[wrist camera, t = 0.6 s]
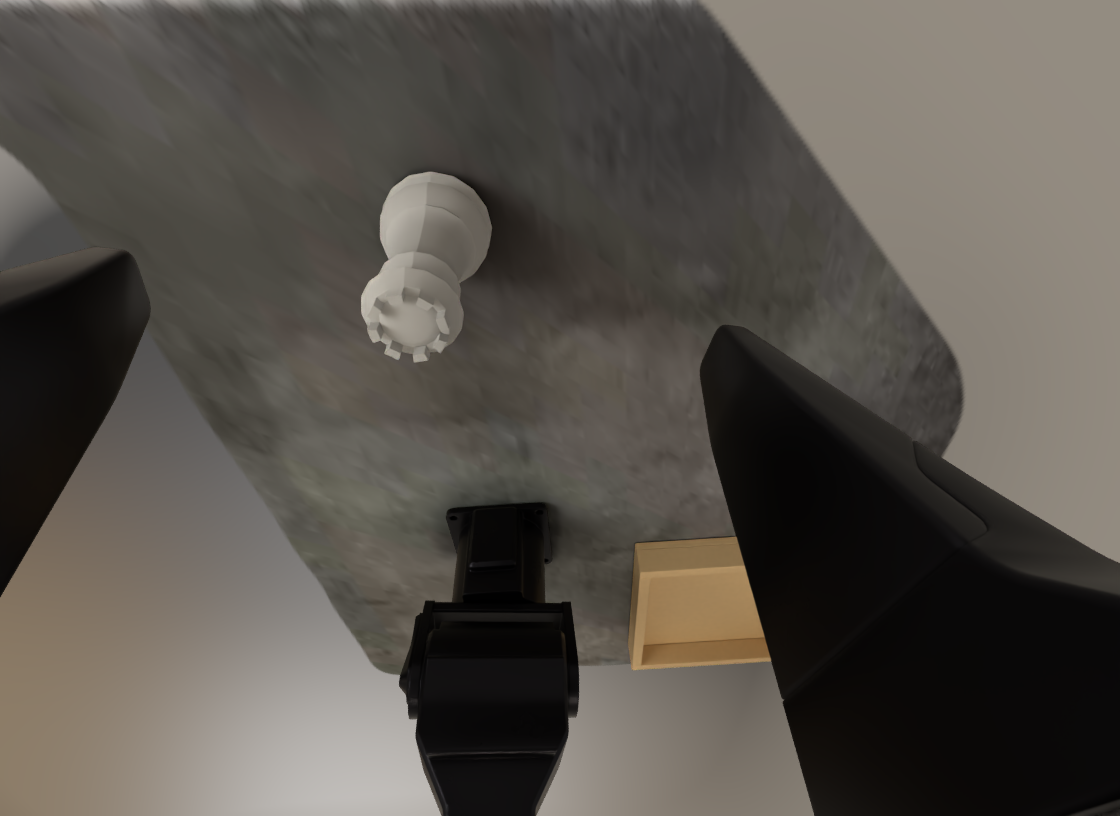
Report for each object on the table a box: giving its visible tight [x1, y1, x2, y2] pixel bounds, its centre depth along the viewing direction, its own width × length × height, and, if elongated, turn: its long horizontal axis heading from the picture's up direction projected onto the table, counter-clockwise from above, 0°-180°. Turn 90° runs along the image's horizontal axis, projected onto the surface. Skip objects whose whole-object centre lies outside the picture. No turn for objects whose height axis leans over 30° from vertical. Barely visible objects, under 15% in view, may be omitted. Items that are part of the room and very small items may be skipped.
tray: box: [628, 537, 771, 670], centre depth 44 cm, size 16×14×2 cm
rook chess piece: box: [361, 171, 492, 362], centre depth 20 cm, size 4×4×8 cm
